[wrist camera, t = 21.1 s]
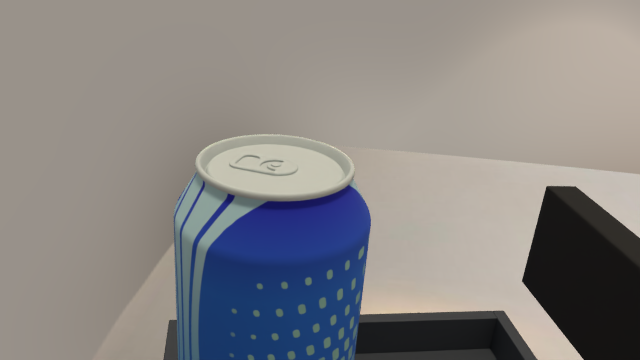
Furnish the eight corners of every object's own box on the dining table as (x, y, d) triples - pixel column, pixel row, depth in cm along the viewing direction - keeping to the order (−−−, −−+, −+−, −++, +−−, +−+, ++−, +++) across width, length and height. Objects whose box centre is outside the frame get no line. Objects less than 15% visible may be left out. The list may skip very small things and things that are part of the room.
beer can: (289, 366, 36) (305, 118, 30) (375, 466, 30) (419, 180, 24) (156, 420, 32) (142, 141, 25) (225, 550, 26) (229, 225, 19)
